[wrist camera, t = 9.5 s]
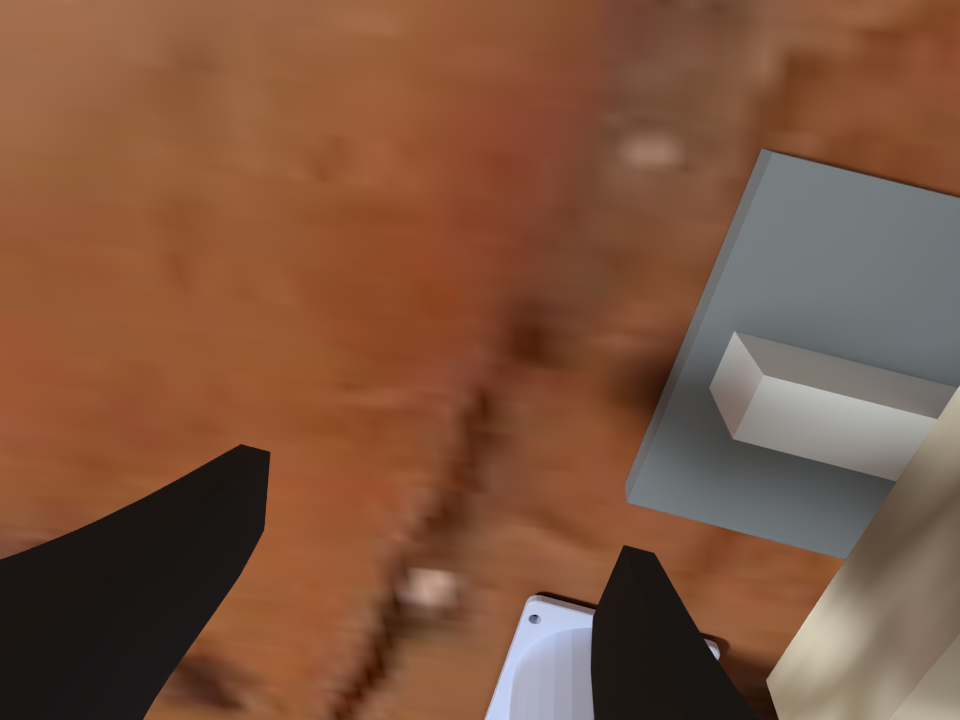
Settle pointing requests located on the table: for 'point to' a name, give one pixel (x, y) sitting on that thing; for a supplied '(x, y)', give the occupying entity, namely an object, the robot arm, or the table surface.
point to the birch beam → (889, 606)
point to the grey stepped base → (809, 358)
